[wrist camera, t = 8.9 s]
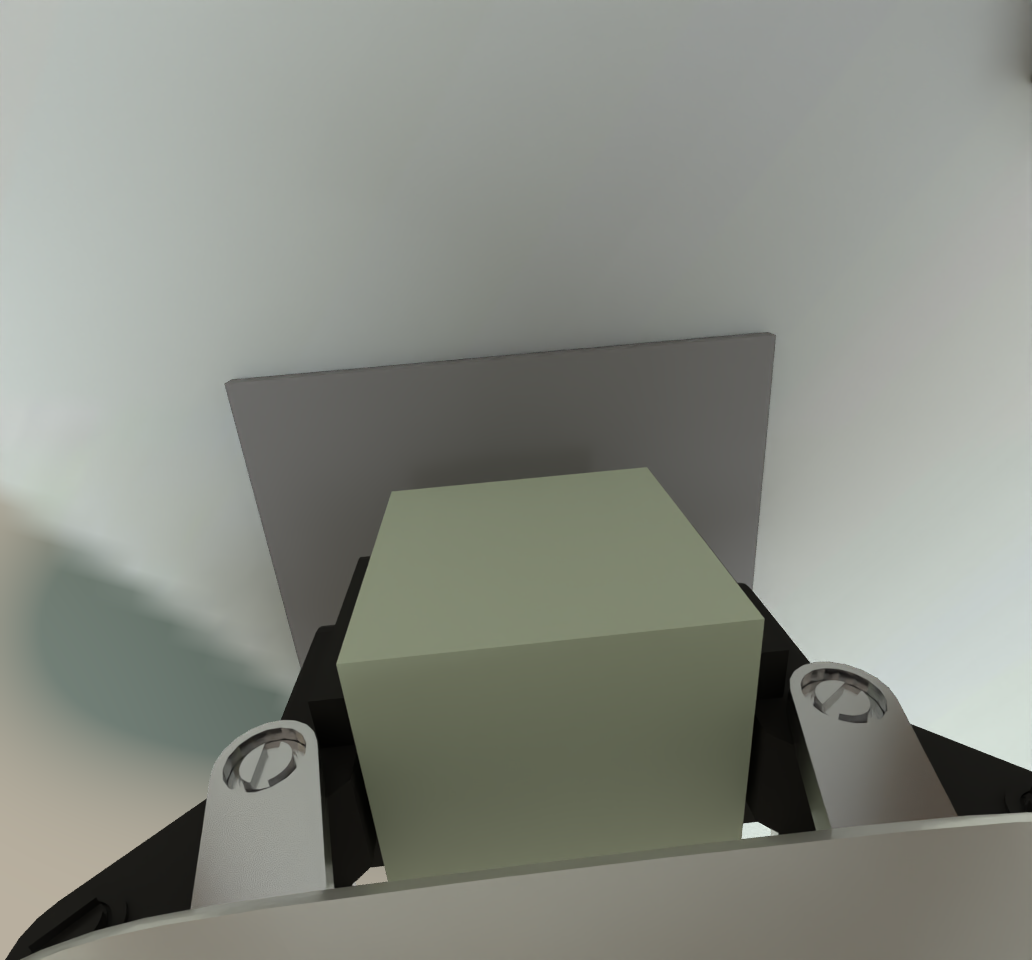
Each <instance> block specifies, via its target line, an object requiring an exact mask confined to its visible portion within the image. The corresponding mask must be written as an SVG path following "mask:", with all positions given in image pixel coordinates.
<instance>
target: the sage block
mask: <svg viewBox="0 0 1032 960" xmlns="http://www.w3.org/2000/svg"><path fill="white" fill-rule="evenodd" d="M764 620H765V619H764V618H763V616H762V615H761V614H760V612H759V611H758V610H757V608H756V607H755V606H754V605H753V603H752V602H751V601H750V599H749V598H748V597H747V596H746V594H745V593H744V592H743V590H742V589H741V588H740V587H739V585H738V584H737V583H736V581H735V580H734V579H733V577H732V576H731V575H730V574H729V572H728V571H727V570H726V568H725V567H724V566H723V565H722V563H721V562H720V561H719V559H718V558H717V557H716V556H715V554H714V553H713V552H712V550H711V549H710V548H709V547H708V545H707V544H706V543H705V541H704V540H703V539H702V537H701V536H700V535H699V534H698V532H697V531H696V530H695V528H694V527H693V526H692V525H691V523H690V522H689V521H688V519H687V518H686V517H685V516H684V514H683V513H682V512H681V510H680V509H679V508H678V506H677V505H676V504H675V503H674V501H673V500H672V499H671V497H670V496H669V495H668V494H667V492H666V491H665V490H664V488H663V487H662V486H661V485H660V483H659V482H658V481H657V479H656V478H655V477H654V475H653V474H652V473H651V472H650V470H649V469H648V468H647V467H643V468H632V469H622V470H611V471H601V472H590V473H580V474H569V475H559V476H548V477H538V478H528V479H517V480H507V481H496V482H486V483H475V484H465V485H454V486H444V487H433V488H423V489H412V490H402V491H392V492H391V495H390V498H389V501H388V505H387V508H386V511H385V514H384V517H383V520H382V523H381V526H380V529H379V533H378V536H377V539H376V542H375V545H374V548H373V551H372V554H371V557H370V561H369V564H368V567H367V570H366V573H365V576H364V579H363V582H362V585H361V589H360V592H359V595H358V598H357V601H356V604H355V607H354V610H353V613H352V617H351V620H350V623H349V626H348V629H347V632H346V635H345V638H344V641H343V645H342V648H341V651H340V654H339V657H338V660H337V663H336V666H337V670H338V674H339V678H340V682H341V686H342V691H343V695H344V699H345V703H346V707H347V712H348V716H349V720H350V724H351V728H352V732H353V737H354V741H355V745H356V749H357V753H358V758H359V762H360V766H361V770H362V774H363V778H364V783H365V787H366V791H367V795H368V799H369V804H370V808H371V812H372V816H373V820H374V824H375V829H376V833H377V837H378V841H379V845H380V850H381V854H382V858H383V862H384V866H385V870H386V875H387V879H388V882H390V881H398V880H406V879H414V878H422V877H430V876H437V875H445V874H453V873H461V872H469V871H477V870H485V869H493V868H502V867H510V866H518V865H527V864H535V863H543V862H552V861H560V860H568V859H577V858H585V857H593V856H602V855H610V854H619V853H627V852H635V851H644V850H652V849H661V848H669V847H678V846H686V845H695V844H703V843H712V842H721V841H730V840H739V839H741V837H742V828H743V819H744V809H745V800H746V790H747V781H748V771H749V762H750V752H751V743H752V733H753V724H754V714H755V705H756V695H757V686H758V676H759V667H760V658H761V648H762V639H763V629H764Z"/></svg>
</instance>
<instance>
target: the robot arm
mask: <svg viewBox="0 0 1032 960" xmlns="http://www.w3.org/2000/svg"><path fill="white" fill-rule="evenodd" d="M692 526H693V525H692ZM693 527H694V526H693ZM695 530H696V529H695ZM696 531H697V530H696ZM697 532H698V531H697ZM698 534H699V533H698ZM699 535H700V534H699ZM700 536H701V535H700ZM702 539H703V538H702ZM703 540H704V539H703ZM704 541H705V540H704ZM705 543H706V542H705ZM706 544H707V543H706ZM707 545H708V544H707ZM708 547H709V546H708ZM709 548H710V547H709ZM710 549H711V548H710ZM712 552H713V551H712ZM713 553H714V552H713ZM714 554H715V553H714ZM715 556H716V555H715ZM370 557H371V556H366V557H360V558H359V559H358V562H357V565H356V568H355V571H354V573H353V576H352V579H351V582H350V585H349V587H348V590H347V593H346V596H345V599H344V601H343V604H342V607H341V610H340V613H339V615H338V618H337V621H336V624H335V625H327V626H321V627H319V628H318V630H317V631H316V633H315V636H314V638H313V641H312V643H311V646H310V648H309V651H308V653H307V656H306V658H305V661H304V663H303V666H302V668H301V671H300V673H299V676H298V678H297V681H296V683H295V686H294V688H293V691H292V693H291V696H290V698H289V701H288V703H287V706H286V708H285V711H284V713H283V716H282V718H281V720H279V721H274V722H270V723H265V724H263V725H260V726H258V727H255V728H253V729H251V730H249V731H247V732H246V733H244V734H243V735H241V736H239V737H238V738H236V739H235V740H234V741H233V742H232V743H231V744H230V745H229V746H228V747H226V748H225V749H224V750H223V752H222V753H221V755H220V756H219V757H218V759H217V760H216V762H215V763H214V766H213V769H212V772H211V775H210V782H209V788H208V795H207V799H205V800H204V801H203V802H201V803H200V804H198V805H197V806H195V807H194V808H192V809H191V810H190V811H188V812H187V813H185V814H184V815H182V816H181V817H179V818H178V819H177V820H175V821H174V822H172V823H171V824H169V825H168V826H166V827H165V828H164V829H162V830H161V831H159V832H158V833H157V834H155V835H153V836H152V837H151V838H150V839H148V840H146V841H145V842H143V843H142V844H141V845H139V846H138V847H136V848H135V849H133V850H132V851H130V852H129V853H128V854H126V855H125V856H123V857H122V858H120V859H119V860H117V861H116V862H115V863H113V864H112V865H111V866H109V867H107V868H106V869H104V870H103V871H102V872H100V873H99V874H97V875H96V876H95V877H93V878H92V879H90V880H89V881H87V882H86V883H84V884H83V885H81V886H80V887H79V888H77V889H76V890H74V891H73V892H71V893H70V894H68V895H67V896H66V897H64V898H63V899H61V900H60V901H58V902H57V903H56V904H55V905H53V906H52V907H51V908H50V909H48V910H47V911H46V912H45V913H44V914H42V915H41V916H40V917H39V918H37V919H36V921H35V922H34V923H33V924H32V925H31V926H30V927H29V928H28V929H27V930H26V931H25V933H24V934H23V935H22V936H21V937H20V938H19V939H18V941H17V943H16V944H15V946H14V947H13V949H12V950H11V952H10V953H9V955H8V956H7V958H6V959H5V960H1032V771H1029V770H1027V769H1024V768H1022V767H1019V766H1016V765H1014V764H1011V763H1009V762H1006V761H1004V760H1001V759H999V758H996V757H994V756H991V755H988V754H986V753H983V752H981V751H978V750H976V749H973V748H971V747H968V746H965V745H963V744H960V743H958V742H955V741H953V740H950V739H948V738H945V737H943V736H940V735H937V734H935V733H932V732H930V731H927V730H925V729H922V728H920V727H917V726H914V725H912V724H910V723H909V721H908V719H907V717H906V715H905V713H904V711H903V709H902V707H901V705H900V703H899V701H898V699H897V698H896V696H895V695H894V694H893V692H892V691H891V690H890V688H889V687H887V686H886V685H885V684H884V683H882V682H881V681H880V680H879V679H878V678H876V677H874V676H872V675H871V674H869V673H867V672H865V671H863V670H861V669H858V668H855V667H852V666H849V665H846V664H840V663H834V662H813V663H810V662H809V661H808V660H807V658H806V657H805V656H804V655H803V653H802V652H801V651H800V650H799V648H798V647H797V646H796V645H795V643H794V642H793V641H792V640H791V638H790V637H789V636H788V635H787V633H786V632H785V631H784V630H783V628H782V627H781V626H780V625H779V623H778V622H777V621H776V620H775V618H774V617H773V616H772V615H771V613H770V612H769V611H768V610H767V608H766V607H765V606H764V605H763V603H762V602H761V601H760V600H759V598H758V597H757V596H756V595H755V593H754V592H753V591H752V590H751V588H750V587H749V586H747V585H746V584H745V583H737V582H736V583H737V584H738V585H739V587H740V588H741V589H742V590H743V592H744V593H745V594H746V596H747V597H748V598H749V599H750V601H751V602H752V603H753V605H754V606H755V607H756V608H757V610H758V611H759V612H760V614H761V615H762V616H763V618H764V619H765V620H764V629H763V639H762V648H761V658H760V667H759V676H758V686H757V695H756V705H755V714H754V724H753V733H752V743H751V752H750V762H749V771H748V781H747V790H746V800H745V809H744V819H743V823H751V822H759V823H761V824H763V825H765V826H766V827H768V828H770V829H771V836H765V837H756V838H748V839H739V840H730V841H721V842H712V843H703V844H695V845H686V846H678V847H669V848H661V849H652V850H644V851H635V852H627V853H619V854H610V855H602V856H593V857H585V858H577V859H568V860H560V861H552V862H543V863H535V864H527V865H518V866H510V867H502V868H493V869H485V870H477V871H469V872H461V873H453V874H445V875H437V876H430V877H422V878H414V879H406V880H398V881H390V882H382V883H374V884H366V885H358V886H356V883H355V881H357V880H358V878H360V877H361V876H362V875H363V874H364V873H365V872H366V871H367V870H368V869H369V868H370V867H379V866H384V862H383V858H382V854H381V850H380V845H379V841H378V837H377V833H376V829H375V824H374V820H373V816H372V812H371V808H370V804H369V799H368V795H367V791H366V787H365V783H364V778H363V774H362V770H361V766H360V762H359V758H358V753H357V749H356V745H355V741H354V737H353V732H352V728H351V724H350V720H349V716H348V712H347V707H346V703H345V699H344V695H343V691H342V686H341V682H340V678H339V674H338V670H337V666H336V663H337V660H338V657H339V654H340V651H341V648H342V645H343V641H344V638H345V635H346V632H347V629H348V626H349V623H350V620H351V617H352V613H353V610H354V607H355V604H356V601H357V598H358V595H359V592H360V589H361V585H362V582H363V579H364V576H365V573H366V570H367V567H368V564H369V561H370ZM716 557H717V556H716ZM717 558H718V557H717ZM719 561H720V560H719ZM720 562H721V561H720ZM721 563H722V562H721ZM722 565H723V564H722ZM723 566H724V565H723ZM724 567H725V566H724ZM726 570H727V569H726ZM727 571H728V570H727ZM728 572H729V571H728ZM729 574H730V573H729ZM730 575H731V574H730ZM731 576H732V575H731ZM733 579H734V578H733ZM734 580H735V579H734ZM735 581H736V580H735Z"/></svg>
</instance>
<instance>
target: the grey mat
mask: <svg viewBox="0 0 1032 960" xmlns="http://www.w3.org/2000/svg"><path fill="white" fill-rule="evenodd" d="M775 340H776V335H774V334H771V333H768V332H767V333H755V334H744V335H733V336H722V337H710V338H699V339H688V340H676V341H665V342H654V343H642V344H631V345H620V346H608V347H597V348H586V349H574V350H563V351H552V352H540V353H529V354H518V355H506V356H495V357H484V358H472V359H461V360H450V361H438V362H427V363H416V364H404V365H393V366H382V367H370V368H359V369H348V370H337V371H325V372H314V373H303V374H291V375H280V376H269V377H257V378H246V379H235V380H230V381H229V382H227V383H225V388H226V391H227V395H228V399H229V403H230V406H231V410H232V414H233V417H234V421H235V425H236V429H237V432H238V436H239V440H240V444H241V447H242V451H243V455H244V458H245V462H246V466H247V470H248V473H249V477H250V481H251V484H252V488H253V492H254V496H255V499H256V503H257V507H258V511H259V514H260V518H261V522H262V525H263V529H264V533H265V537H266V540H267V544H268V548H269V552H270V555H271V559H272V563H273V566H274V570H275V574H276V578H277V581H278V585H279V589H280V592H281V596H282V600H283V604H284V607H285V611H286V615H287V619H288V622H289V626H290V630H291V633H292V637H293V641H294V645H295V648H296V652H297V656H298V660H299V663H300V667H301V668H302V666H303V663H304V661H305V658H306V656H307V653H308V651H309V648H310V646H311V643H312V641H313V638H314V636H315V633H316V631H317V630H318V628H319V627H321V626H327V625H335V624H336V621H337V618H338V615H339V613H340V610H341V607H342V604H343V601H344V599H345V596H346V593H347V590H348V587H349V585H350V582H351V579H352V576H353V573H354V571H355V568H356V565H357V562H358V559H359V558H360V557H366V556H371V554H372V551H373V548H374V545H375V542H376V539H377V536H378V533H379V529H380V526H381V523H382V520H383V517H384V514H385V511H386V508H387V505H388V501H389V498H390V495H391V492H392V491H402V490H412V489H423V488H433V487H444V486H454V485H465V484H475V483H486V482H496V481H507V480H517V479H528V478H538V477H548V476H559V475H569V474H580V473H590V472H601V471H611V470H622V469H632V468H643V467H647V468H648V469H649V470H650V472H651V473H652V474H653V475H654V477H655V478H656V479H657V481H658V482H659V483H660V485H661V486H662V487H663V488H664V490H665V491H666V492H667V494H668V495H669V496H670V497H671V499H672V500H673V501H674V503H675V504H676V505H677V506H678V508H679V509H680V510H681V512H682V513H683V514H684V516H685V517H686V518H687V519H688V521H689V522H690V523H691V525H693V526H694V528H695V529H696V530H697V531H698V533H699V534H700V535H701V537H702V538H703V539H704V540H705V542H706V543H707V544H708V546H709V547H710V548H711V550H712V551H713V552H714V553H715V555H716V556H717V557H718V559H719V560H720V561H721V562H722V564H723V565H724V566H725V568H726V569H727V570H728V571H729V573H730V574H731V575H732V577H733V578H734V579H735V580H736V582H737V583H745V584H746V585H747V586H749V587H750V588H751V590H752V588H753V577H754V566H755V555H756V545H757V534H758V523H759V512H760V501H761V491H762V480H763V469H764V458H765V448H766V437H767V426H768V415H769V404H770V394H771V383H772V372H773V361H774V350H775Z"/></svg>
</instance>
